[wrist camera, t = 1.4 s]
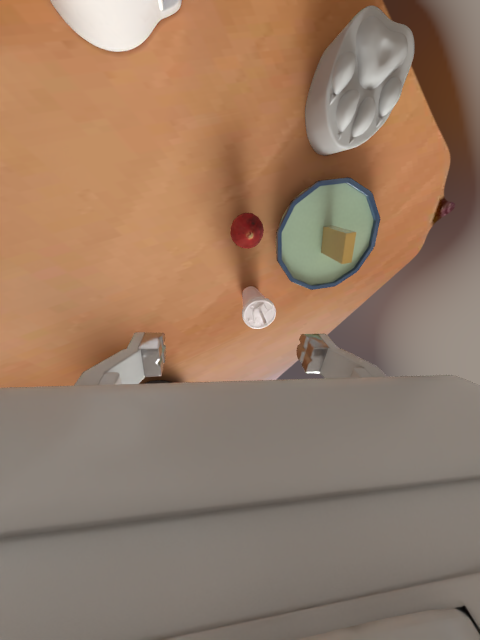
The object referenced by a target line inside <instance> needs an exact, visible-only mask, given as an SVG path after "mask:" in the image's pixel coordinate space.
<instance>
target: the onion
mask: <svg viewBox="0 0 480 640" xmlns="http://www.w3.org/2000/svg"><path fill="white" fill-rule="evenodd" d="M263 231H264V230H263V225H262V223H261V221H260V219H259V218H258V217H257V216H255V215H254V214H252V213H243V214H241V215H239V216H238V217H237V218H236V219H235V220H234V221H233V223H232V226H231V233H230V234H231V237H232V240H233V241H234V243H235V244H236V245H238V246H240V247H242V248H252V247H255V246H256V245H257V244H258V243H259V242H260V240H261V238H262V236H263Z"/></svg>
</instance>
